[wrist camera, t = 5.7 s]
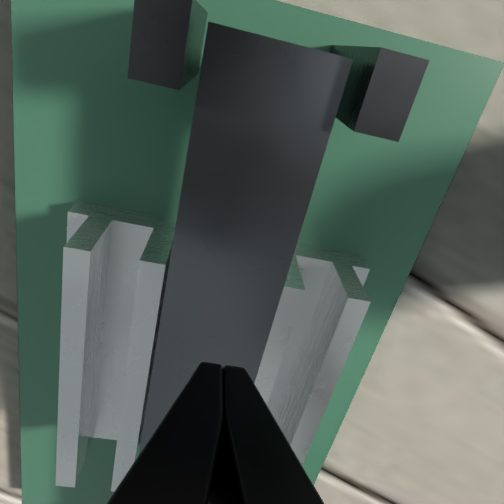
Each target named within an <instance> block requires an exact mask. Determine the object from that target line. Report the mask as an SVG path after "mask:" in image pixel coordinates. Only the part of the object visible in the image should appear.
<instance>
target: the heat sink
mask: <svg viewBox="0 0 504 504" xmlns="http://www.w3.org/2000/svg"><path fill="white" fill-rule="evenodd" d="M207 14H208V12H207V11H206V10H205V9H204V8H203V7H202V6H201V5H200V4H199V3H198V2H197V1H196V0H134V11H133V22H132V34H131V45H130V56H129V67H128V78H129V79H133V80H137V81H141V82H146V83H150V84H154V85H158V86H163V87H167V88H171V89H175V90H181V89H182V88H183V87H184V86H185V85H186V84H187V83H188V82H189V81H191V80H192V79H193V78H194V77H195V76H196V75H197V74H198V71H199V65H200V58H201V52H202V46H203V39H204V33H205V27H206V21H207ZM329 53H332V54H336V55H340V56H343V57H347V58H351V59H353V62H352V65H351V68H350V72H349V75H348V78H347V81H346V85H345V88H344V91H343V95H342V98H341V101H340V104H339V108H338V111H337V114H336V117H335V118H337V119H338V120H339V121H341V122H342V123H343V124H344V125H346V126H347V127H348V128H350V129H351V130H352V131H354V132H358V133H362V134H366V135H371V136H375V137H379V138H383V139H388V140H392V141H396V142H399V140H400V137H401V134H402V132H403V129H404V126H405V124H406V121H407V119H408V116H409V113H410V111H411V108H412V105H413V103H414V100H415V97H416V95H417V92H418V90H419V87H420V84H421V82H422V79H423V76H424V74H425V71H426V68H427V66H428V63H429V61H430V60H427V59H423V58H420V57H416V56H412V55H408V54H405V53H401V52H397V51H393V50H390V49H386V48H382V47H365V46H344V45H331V48H330V52H329ZM175 225H176V219H170V218H165V217H160V216H155V215H150V214H145V213H140V212H134V211H129V210H124V209H119V208H114V207H109V206H104V205H98V204H93V203H88V202H83V201H78V202H77V203H76V204H75V205H74V206H73V207H72V208H71V209H70V210H69V211H68V215H67V242H66V244H65V245H64V247H63V273H62V303H61V333H60V363H59V393H58V424H57V454H56V484H55V486H65V487H74V488H75V486H76V483H77V481H78V478H79V475H80V472H81V470H82V467H83V464H84V461H85V458H86V456H87V453H88V450H89V447H90V444H91V442H92V439H93V437H94V438H102V439H110V440H117V446H116V454H115V462H114V470H113V478H112V486H111V491H112V492H115V490H116V489H117V487H118V486H119V484H120V483H121V481H122V480H123V478H124V477H125V475H126V474H127V472H128V471H129V469H130V468H131V466H132V465H133V463H134V462H135V460H136V459H137V457H138V455H139V449H140V443H141V437H142V430H143V424H144V418H145V412H146V406H147V399H148V393H149V387H150V381H151V374H152V368H153V362H154V356H155V350H156V343H157V337H158V331H159V325H160V319H161V312H162V306H163V300H164V294H165V288H166V281H167V275H168V269H169V263H170V256H171V250H172V244H173V238H174V232H175ZM369 271H370V268H369V267H368V265H367V263H366V262H365V260H364V258H363V256H361V255H355V254H350V253H345V252H340V251H335V250H330V249H325V248H319V247H314V246H309V245H304V244H299V243H297V245H296V249H295V252H294V255H293V259H292V262H291V265H290V268H289V272H288V275H287V278H286V282H285V285H284V288H283V291H282V295H281V298H280V301H279V304H278V308H277V311H276V314H275V318H274V321H273V324H272V327H271V331H270V334H269V337H268V341H267V344H266V347H265V350H264V354H263V357H262V360H261V364H260V367H259V370H258V373H257V377H256V380H255V383H254V384H255V386H256V387H257V389H258V391H259V392H260V394H261V396H262V398H263V399H264V401H265V403H266V405H267V406H268V408H269V410H270V411H271V413H272V415H273V417H274V418H275V420H276V422H277V423H278V425H279V427H280V429H281V430H282V432H283V434H284V435H285V437H286V439H287V441H288V442H289V444H290V446H291V447H292V449H293V451H294V453H295V454H296V456H297V458H298V460H299V461H300V463H301V465H302V464H303V462H304V459H305V457H306V455H307V452H308V450H309V448H310V445H311V443H312V440H313V438H314V436H315V433H316V431H317V429H318V426H319V424H320V421H321V419H322V417H323V414H324V412H325V410H326V407H327V405H328V402H329V400H330V398H331V395H332V393H333V391H334V388H335V386H336V383H337V381H338V379H339V376H340V374H341V372H342V369H343V367H344V364H345V362H346V360H347V357H348V355H349V353H350V350H351V348H352V345H353V343H354V341H355V338H356V336H357V334H358V331H359V329H360V326H361V324H362V322H363V319H364V317H365V315H366V312H367V310H368V307H369V305H370V303H371V301H370V299H369V297H368V295H367V294H366V292H365V290H364V288H363V285H364V283H365V280H366V278H367V275H368V273H369Z"/></svg>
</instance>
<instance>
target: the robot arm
mask: <svg viewBox="0 0 504 504" xmlns="http://www.w3.org/2000/svg"><path fill="white" fill-rule="evenodd" d="M107 504H324V502H323V501H322V499H321V497H320V496H319V494H318V492H317V490H316V489H315V487H314V485H313V484H312V482H311V480H310V478H309V477H308V475H307V473H306V472H305V470H304V468H303V466H302V465H301V463H300V461H299V460H298V458H297V456H296V454H295V453H294V451H293V449H292V447H291V446H290V444H289V442H288V441H287V439H286V437H285V435H284V434H283V432H282V430H281V429H280V427H279V425H278V423H277V422H276V420H275V418H274V417H273V415H272V413H271V411H270V410H269V408H268V406H267V405H266V403H265V401H264V399H263V398H262V396H261V394H260V392H259V391H258V389H257V387H256V386H255V384H254V382H253V380H252V379H251V377H250V375H249V374H248V372H247V370H246V369H245V368H242V367H236V366H229V365H226V366H224V367H222V365H221V364H216V363H209V362H201V363H200V364H199V365H198V367H197V368H196V370H195V371H194V373H193V374H192V376H191V377H190V379H189V380H188V382H187V383H186V385H185V386H184V388H183V389H182V391H181V392H180V394H179V395H178V397H177V398H176V400H175V401H174V403H173V404H172V406H171V407H170V409H169V410H168V412H167V413H166V415H165V416H164V418H163V419H162V421H161V423H160V424H159V426H158V427H157V429H156V430H155V432H154V433H153V435H152V436H151V438H150V439H149V441H148V442H147V444H146V445H145V447H144V448H143V450H142V451H141V453H140V454H139V456H138V457H137V459H136V460H135V462H134V463H133V465H132V466H131V468H130V469H129V471H128V472H127V474H126V475H125V477H124V478H123V480H122V481H121V483H120V484H119V486H118V487H117V489H116V490H115V492H114V493H113V495H112V496H111V498H110V499H109V501H108V502H107Z"/></svg>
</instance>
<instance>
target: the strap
mask: <svg viewBox="0 0 504 504" xmlns="http://www.w3.org/2000/svg"><path fill="white" fill-rule="evenodd" d="M352 62H353V59H351V58H347V57H343V56H340V55H336V54H332V53H328V52H324V51H320V50H316V49H313V48H309V47H305V46H301V45H297V44H293V43H290V42H286V41H282V40H278V39H274V38H270V37H266V36H263V35H259V34H255V33H251V32H247V31H243V30H240V29H236V28H232V27H228V26H224V25H220V24H216V23H213V22H209V21H208V27H207V33H206V39H205V45H204V52H203V58H202V64H201V70H200V76H199V83H198V89H197V95H196V101H195V107H194V114H193V120H192V126H191V132H190V138H189V145H188V151H187V157H186V163H185V170H184V176H183V182H182V188H181V194H180V201H179V207H178V213H177V219H176V225H175V232H174V238H173V244H172V250H171V256H170V263H169V269H168V275H167V281H166V288H165V294H164V300H163V306H162V312H161V319H160V325H159V331H158V337H157V343H156V350H155V356H154V362H153V368H152V374H151V381H150V387H149V393H148V399H147V406H146V412H145V418H144V424H143V430H142V437H141V443H140V449H139V454H140V453H141V451H142V450H143V448H144V447H145V445H146V444H147V442H148V441H149V439H150V438H151V436H152V435H153V433H154V432H155V430H156V429H157V427H158V426H159V424H160V423H161V421H162V419H163V418H164V416H165V415H166V413H167V412H168V410H169V409H170V407H171V406H172V404H173V403H174V401H175V400H176V398H177V397H178V395H179V394H180V392H181V391H182V389H183V388H184V386H185V385H186V383H187V382H188V380H189V379H190V377H191V376H192V374H193V373H194V371H195V370H196V368H197V367H198V365H199V364H200V363H201V362H209V363H216V364H221V365H222V367H224V366H226V365H229V366H236V367H242V368H245V369H246V370H247V372H248V374H249V375H250V377H251V379H252V380H253V382H254V383H255V380H256V377H257V373H258V370H259V367H260V364H261V360H262V357H263V354H264V350H265V347H266V344H267V341H268V337H269V334H270V331H271V327H272V324H273V321H274V318H275V314H276V311H277V308H278V304H279V301H280V298H281V295H282V291H283V288H284V285H285V282H286V278H287V275H288V272H289V268H290V265H291V262H292V259H293V255H294V252H295V249H296V245H297V242H298V239H299V236H300V232H301V229H302V226H303V222H304V219H305V216H306V213H307V209H308V206H309V203H310V199H311V196H312V193H313V190H314V186H315V183H316V180H317V177H318V173H319V170H320V167H321V163H322V160H323V157H324V154H325V150H326V147H327V144H328V140H329V137H330V134H331V131H332V127H333V124H334V121H335V117H336V114H337V111H338V108H339V104H340V101H341V98H342V95H343V91H344V88H345V85H346V81H347V78H348V75H349V72H350V68H351V65H352ZM138 456H139V455H138Z"/></svg>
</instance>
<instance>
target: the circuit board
mask: <svg viewBox="0 0 504 504" xmlns="http://www.w3.org/2000/svg"><path fill="white" fill-rule="evenodd" d="M196 1H197V2H198V3H199V4H200V5H201V6H202V7H203V8H204V9H205V10H206V11H207V12H208V14H207V21H206V27H205V33H204V39H203V46H202V52H201V58H200V65H199V71H198V74H197V75H196V76H195V77H194V78H193V79H192V80H191V81H189V82H188V83H187V84H186V85H185V86H184V87H183V88H182V89H181V90H175V89H171V88H167V87H163V86H158V85H154V84H150V83H146V82H141V81H137V80H133V79H129V78H128V67H129V56H130V45H131V34H132V22H133V11H134V0H11V28H12V73H13V119H14V164H15V210H16V255H17V301H18V346H19V392H20V437H21V483H22V504H107V502H108V501H109V499H110V498H111V496H112V495H113V493H114V492H112V491H111V486H112V478H113V470H114V462H115V454H116V446H117V440H110V439H102V438H94V437H93V439H92V442H91V444H90V447H89V450H88V453H87V456H86V458H85V461H84V464H83V467H82V470H81V472H80V475H79V478H78V481H77V483H76V486H75V488H74V487H65V486H55V484H56V454H57V424H58V393H59V363H60V333H61V303H62V273H63V247H64V245H65V244H66V242H67V215H68V211H69V210H70V209H71V208H72V207H73V206H74V205H75V204H76V203H77V202H78V201H83V202H88V203H93V204H98V205H104V206H109V207H114V208H119V209H124V210H129V211H134V212H140V213H145V214H150V215H155V216H160V217H165V218H170V219H177V213H178V207H179V201H180V194H181V188H182V182H183V176H184V170H185V163H186V157H187V151H188V145H189V138H190V132H191V126H192V120H193V114H194V107H195V101H196V95H197V89H198V83H199V76H200V70H201V64H202V58H203V52H204V45H205V39H206V33H207V27H208V21H209V22H213V23H216V24H220V25H224V26H228V27H232V28H236V29H240V30H243V31H247V32H251V33H255V34H259V35H263V36H266V37H270V38H274V39H278V40H282V41H286V42H290V43H293V44H297V45H301V46H305V47H309V48H313V49H316V50H320V51H324V52H328V53H329V52H330V48H331V45H344V46H365V47H382V48H386V49H390V50H393V51H397V52H401V53H405V54H408V55H412V56H416V57H420V58H423V59H427V60H430V61H429V63H428V66H427V68H426V71H425V74H424V76H423V79H422V82H421V84H420V87H419V90H418V92H417V95H416V97H415V100H414V103H413V105H412V108H411V111H410V113H409V116H408V119H407V121H406V124H405V126H404V129H403V132H402V134H401V137H400V140H399V142H396V141H392V140H388V139H383V138H379V137H375V136H371V135H366V134H362V133H358V132H354V131H352V130H351V129H350V128H348V127H347V126H346V125H344V124H343V123H342V122H341V121H339V120H338V119H337V118H335V121H334V124H333V127H332V131H331V134H330V137H329V140H328V144H327V147H326V150H325V154H324V157H323V160H322V163H321V167H320V170H319V173H318V177H317V180H316V183H315V186H314V190H313V193H312V196H311V199H310V203H309V206H308V209H307V213H306V216H305V219H304V222H303V226H302V229H301V232H300V236H299V239H298V242H297V243H299V244H304V245H309V246H314V247H319V248H325V249H330V250H335V251H340V252H345V253H350V254H355V255H361V256H363V258H364V260H365V262H366V263H367V265H368V267H369V268H370V271H369V273H368V275H367V278H366V280H365V283H364V285H363V288H364V290H365V292H366V294H367V295H368V297H369V299H370V301H371V303H370V305H369V307H368V310H367V312H366V315H365V317H364V319H363V322H362V324H361V326H360V329H359V331H358V334H357V336H356V338H355V341H354V343H353V345H352V348H351V350H350V353H349V355H348V357H347V360H346V362H345V364H344V367H343V369H342V372H341V374H340V376H339V379H338V381H337V383H336V386H335V388H334V391H333V393H332V395H331V398H330V400H329V402H328V405H327V407H326V410H325V412H324V414H323V417H322V419H321V421H320V424H319V426H318V429H317V431H316V433H315V436H314V438H313V440H312V443H311V445H310V448H309V450H308V452H307V455H306V457H305V459H304V462H303V464H302V466H303V468H304V470H305V472H306V473H307V475H308V477H309V478H310V480H311V482H312V484H313V485H314V483H315V481H316V479H317V476H318V474H319V472H320V470H321V468H322V465H323V463H324V461H325V459H326V457H327V454H328V452H329V450H330V448H331V445H332V443H333V441H334V439H335V437H336V434H337V432H338V430H339V428H340V426H341V423H342V421H343V419H344V417H345V415H346V412H347V410H348V408H349V406H350V404H351V401H352V399H353V397H354V395H355V393H356V390H357V388H358V386H359V384H360V382H361V379H362V377H363V375H364V373H365V371H366V368H367V366H368V364H369V362H370V359H371V357H372V355H373V353H374V351H375V348H376V346H377V344H378V342H379V340H380V337H381V335H382V333H383V331H384V329H385V326H386V324H387V322H388V320H389V318H390V315H391V313H392V311H393V309H394V307H395V304H396V302H397V300H398V298H399V296H400V293H401V291H402V289H403V287H404V284H405V282H406V280H407V278H408V276H409V273H410V271H411V269H412V267H413V265H414V262H415V260H416V258H417V256H418V254H419V251H420V249H421V247H422V245H423V243H424V240H425V238H426V236H427V234H428V232H429V229H430V227H431V225H432V223H433V221H434V218H435V216H436V214H437V212H438V210H439V207H440V205H441V203H442V201H443V198H444V196H445V194H446V192H447V190H448V187H449V185H450V183H451V181H452V179H453V176H454V174H455V172H456V170H457V168H458V165H459V163H460V161H461V159H462V157H463V154H464V152H465V150H466V148H467V146H468V143H469V141H470V139H471V137H472V135H473V132H474V130H475V128H476V126H477V123H478V121H479V119H480V117H481V115H482V112H483V110H484V108H485V106H486V104H487V101H488V99H489V97H490V95H491V93H492V90H493V88H494V86H495V84H496V82H497V79H498V77H499V75H500V73H501V71H502V68H503V66H504V63H503V62H500V61H496V60H492V59H489V58H485V57H481V56H478V55H474V54H470V53H467V52H463V51H459V50H456V49H452V48H448V47H445V46H441V45H437V44H434V43H430V42H426V41H423V40H419V39H415V38H412V37H408V36H404V35H400V34H397V33H393V32H389V31H386V30H382V29H378V28H375V27H371V26H367V25H364V24H360V23H356V22H353V21H349V20H345V19H342V18H338V17H334V16H331V15H327V14H323V13H320V12H316V11H312V10H309V9H305V8H301V7H298V6H294V5H290V4H287V3H283V2H279V1H276V0H196Z"/></svg>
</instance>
